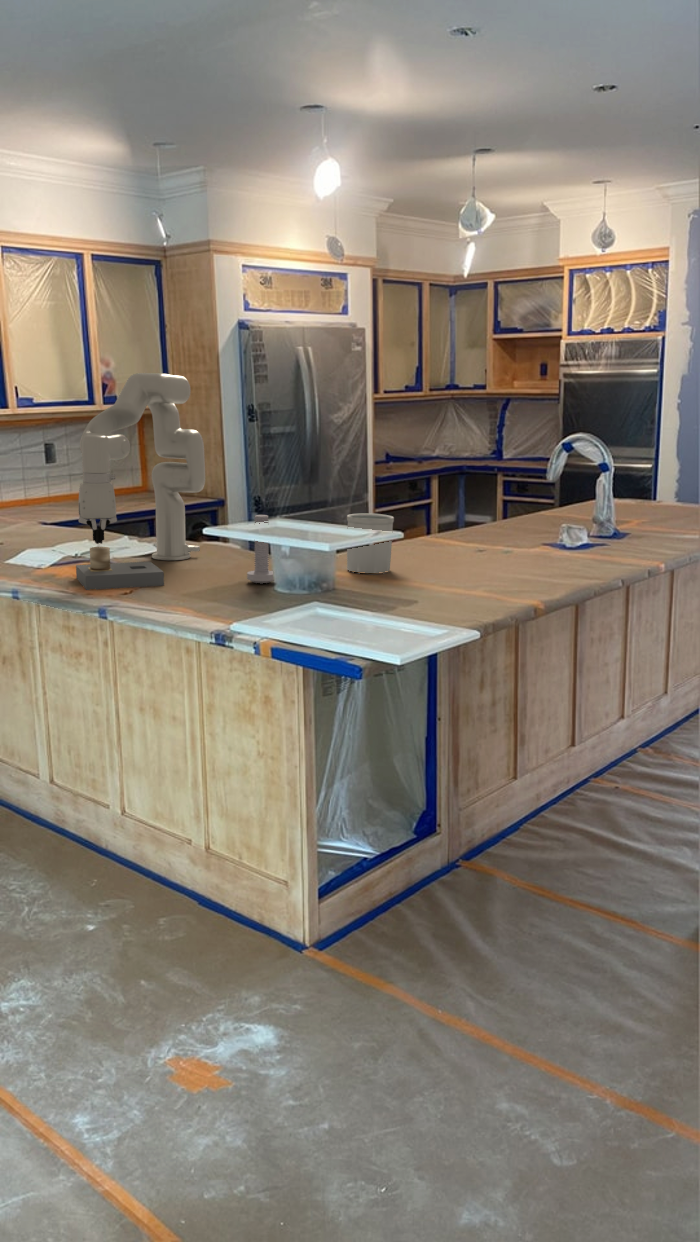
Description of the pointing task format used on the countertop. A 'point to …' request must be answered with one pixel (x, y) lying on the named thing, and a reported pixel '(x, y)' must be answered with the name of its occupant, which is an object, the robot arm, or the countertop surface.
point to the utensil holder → (373, 555)
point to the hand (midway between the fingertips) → (98, 542)
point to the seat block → (120, 576)
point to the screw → (261, 559)
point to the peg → (100, 558)
